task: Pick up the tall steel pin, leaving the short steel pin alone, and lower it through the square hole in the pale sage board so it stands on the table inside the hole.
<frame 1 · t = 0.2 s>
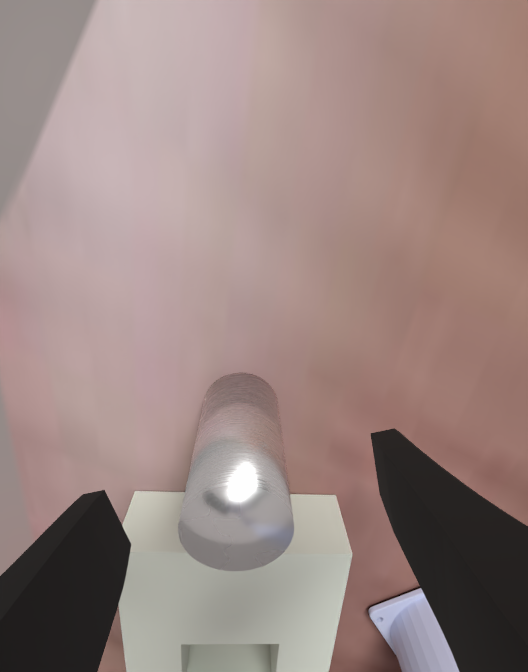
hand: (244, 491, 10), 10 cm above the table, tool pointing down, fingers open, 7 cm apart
tall pin: (240, 405, 20), on the table
pin board: (231, 605, 26), on the table
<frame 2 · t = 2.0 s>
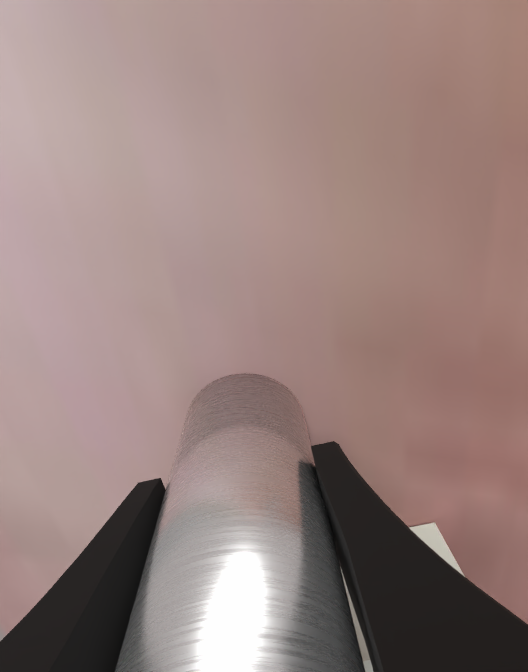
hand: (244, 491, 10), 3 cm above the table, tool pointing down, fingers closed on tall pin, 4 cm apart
tall pin: (245, 426, 13), on the table, touching gripper
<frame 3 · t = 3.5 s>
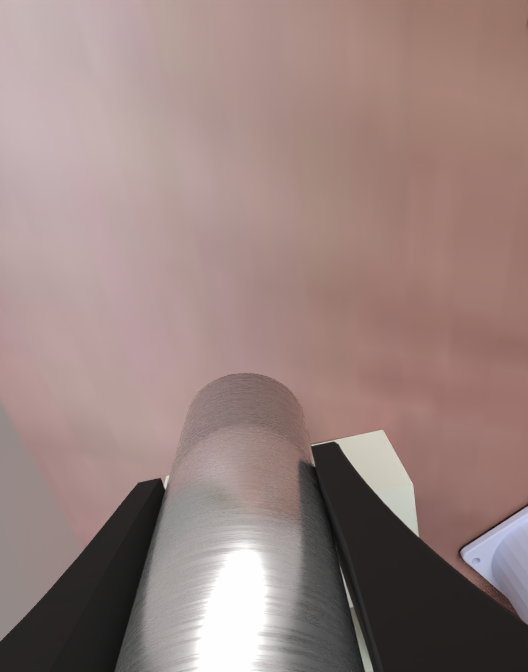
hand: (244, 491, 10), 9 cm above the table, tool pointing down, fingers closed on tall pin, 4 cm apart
tall pin: (245, 426, 13), point 6 cm above the table, touching gripper
pin board: (307, 577, 24), on the table
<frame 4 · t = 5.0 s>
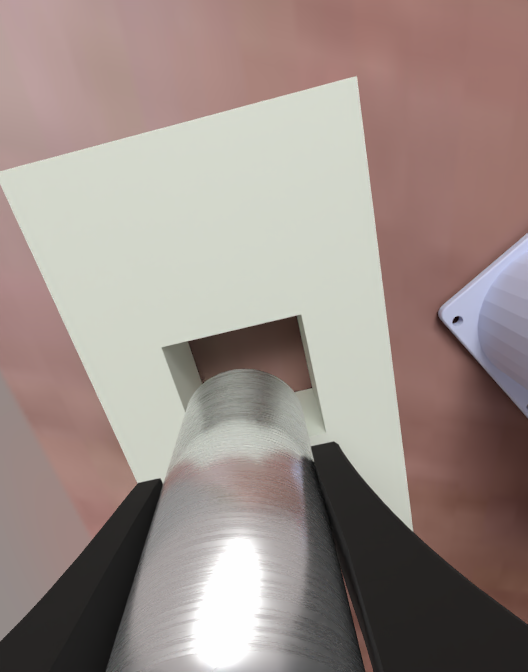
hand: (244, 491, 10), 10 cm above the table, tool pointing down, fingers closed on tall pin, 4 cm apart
tall pin: (244, 422, 13), point 7 cm above the table, touching gripper
pin board: (248, 353, 19), on the table
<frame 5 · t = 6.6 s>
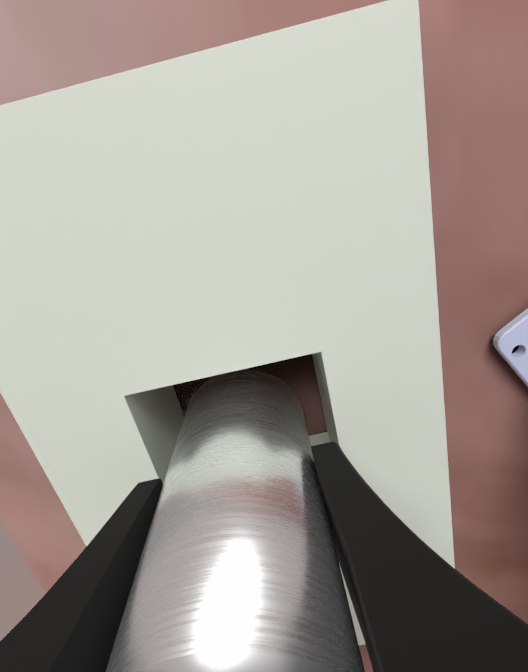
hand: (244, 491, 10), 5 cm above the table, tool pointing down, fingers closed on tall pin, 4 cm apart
tall pin: (244, 422, 13), point 2 cm above the table, touching gripper
pin board: (247, 389, 15), on the table
when the fingers open (5 cm above the table, at t = 7.9 s): tall pin drops 2 cm, resting in pin board.
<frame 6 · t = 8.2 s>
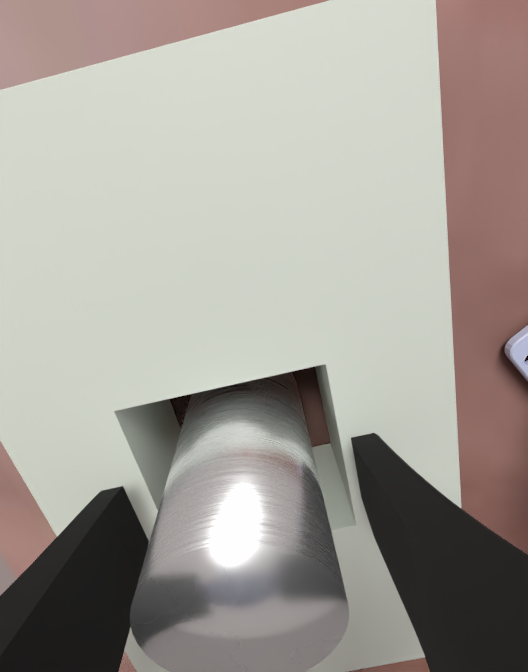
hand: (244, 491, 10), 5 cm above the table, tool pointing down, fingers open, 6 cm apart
tall pin: (245, 396, 14), resting in pin board
pin board: (246, 399, 14), on the table
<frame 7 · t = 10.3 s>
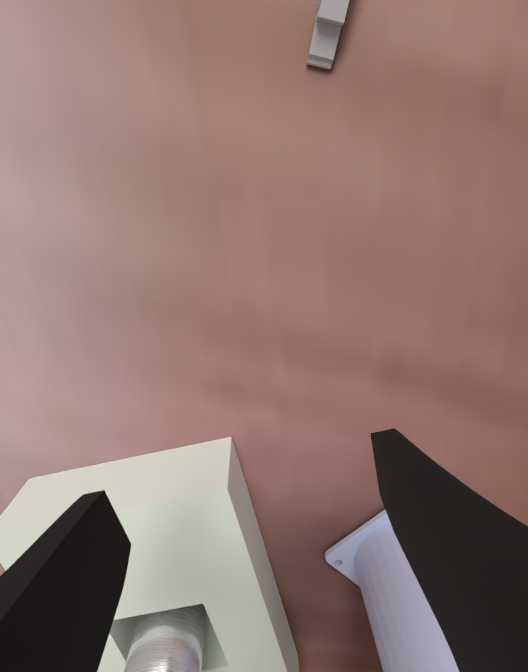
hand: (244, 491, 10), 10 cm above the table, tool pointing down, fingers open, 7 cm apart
tall pin: (180, 575, 25), resting in pin board
pin board: (180, 577, 25), on the table
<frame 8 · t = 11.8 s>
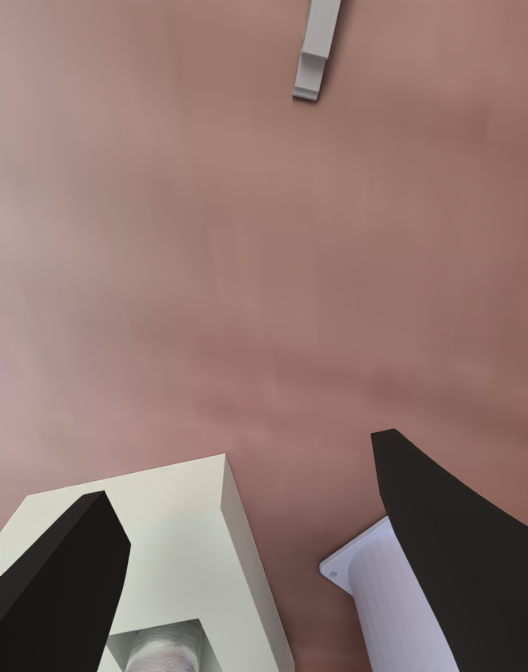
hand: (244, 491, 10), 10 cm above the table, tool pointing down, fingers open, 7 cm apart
tall pin: (177, 587, 25), resting in pin board
pin board: (178, 589, 25), on the table
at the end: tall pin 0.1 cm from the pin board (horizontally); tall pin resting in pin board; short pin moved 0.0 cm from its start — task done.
